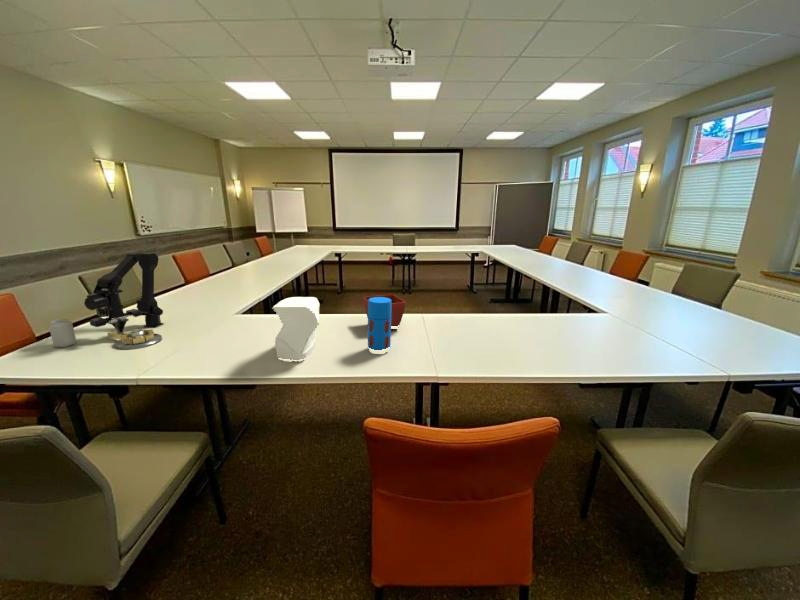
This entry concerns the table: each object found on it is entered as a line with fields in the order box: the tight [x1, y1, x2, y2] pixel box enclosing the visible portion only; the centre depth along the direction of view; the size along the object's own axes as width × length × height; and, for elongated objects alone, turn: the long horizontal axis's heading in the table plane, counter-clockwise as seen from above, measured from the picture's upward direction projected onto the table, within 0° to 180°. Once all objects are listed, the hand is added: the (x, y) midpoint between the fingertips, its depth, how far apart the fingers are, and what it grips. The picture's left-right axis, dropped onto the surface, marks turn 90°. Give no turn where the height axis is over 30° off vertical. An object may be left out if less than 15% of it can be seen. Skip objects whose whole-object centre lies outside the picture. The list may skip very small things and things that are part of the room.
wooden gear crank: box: [107, 328, 155, 344], centre depth 158 cm, size 20×12×4 cm, turn 85°
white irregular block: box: [271, 296, 321, 360], centre depth 149 cm, size 21×27×26 cm
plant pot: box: [362, 294, 406, 326], centre depth 187 cm, size 19×19×17 cm
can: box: [48, 318, 77, 348], centre depth 151 cm, size 8×8×12 cm
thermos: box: [367, 297, 392, 350], centre depth 155 cm, size 11×11×25 cm
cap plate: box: [114, 329, 163, 351], centre depth 158 cm, size 18×18×6 cm
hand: (120, 334), depth 161 cm, fingers closed
